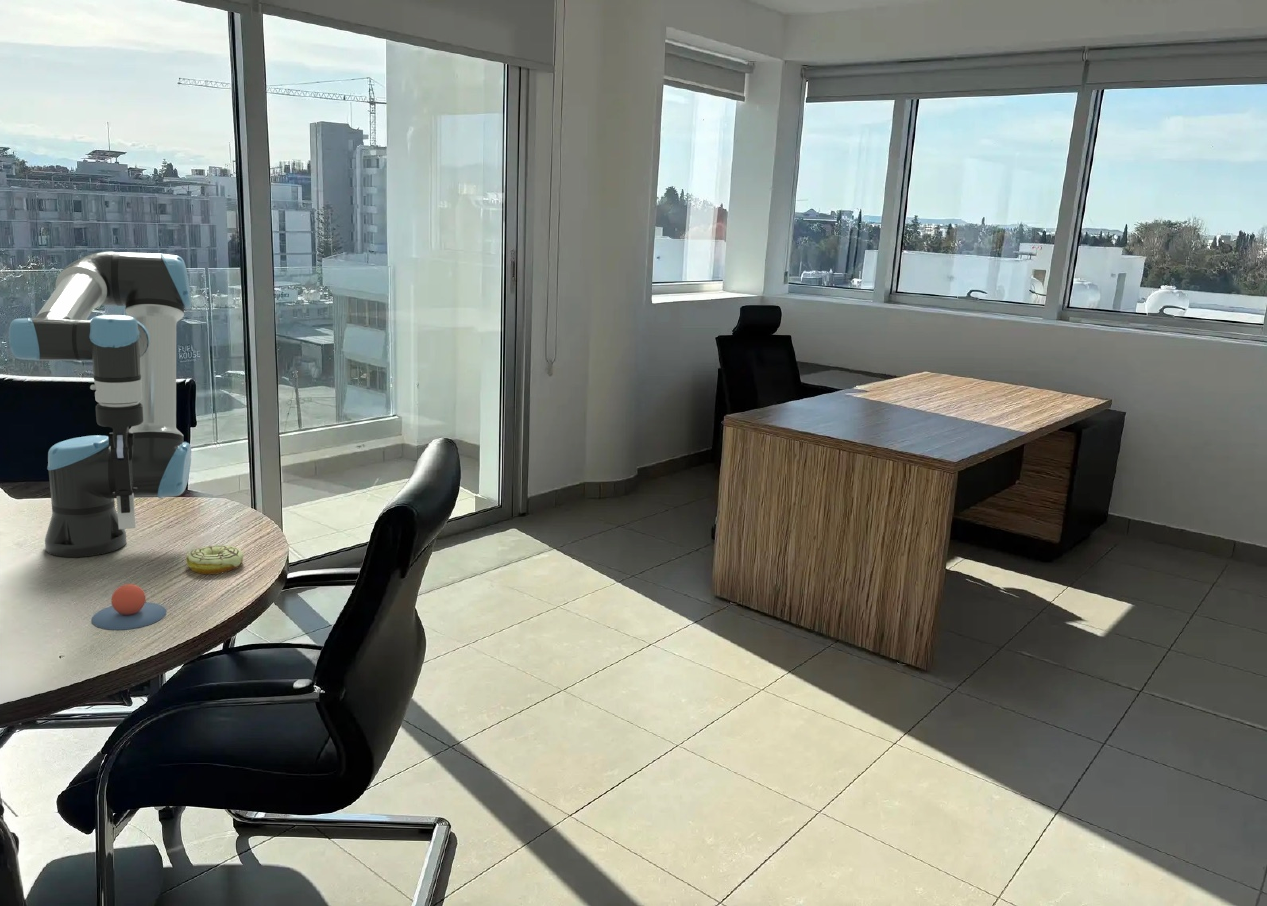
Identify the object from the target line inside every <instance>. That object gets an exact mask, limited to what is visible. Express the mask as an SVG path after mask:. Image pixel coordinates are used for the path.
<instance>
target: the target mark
mask: <svg viewBox="0 0 1267 906" xmlns="http://www.w3.org/2000/svg"><path fill="white" fill-rule="evenodd" d="M166 615H167V608H165V606H163V605H162V604H160V603H159V604H158V603H155V602H149V601H147V602H146V601H145V604H144V606H143V607H142V609H141V610H140V611H138V612H137V613H135V614H131V615H123V614H120V613H118V612H117V611H116V610H115V609H114V608H113V606H112V605H111V606H108V607H105V608H103V609H101V610H98V611H96V612H95V613H94V614H93V615H92V617H91V623H92V625H93V626H95V627H97V628H100V629H103V630H108V631H109V630H110V631H123V630H124V631H126V630H134V629H140V628H144V627H147V626H150V625H152V624H156V623H157V622H159V621H161V620H163V618H164V617H165V616H166Z"/></svg>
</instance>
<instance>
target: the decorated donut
mask: <svg viewBox="0 0 1267 906" xmlns="http://www.w3.org/2000/svg"><path fill="white" fill-rule="evenodd" d="M243 556H244V553H243V551H242V550H241V549H240V548H238V547H236V546H233V545H222V544H218V545H207V546H201V547H197V548H195V549H193V550H192V549H191V551H189V552H188V553H187V554H186V559H185V560H186V561H185V562H186V564H187V566H188V567H189V568H190V570H191V571H193V572H194V573H197V574H202V575H208V574H209V575H210V574H211V575H217V574H216V573H219V574H223V573H222V572H224V573H228V572H230V571H232V569H233V570H235V569H238V568H239V567H240V566H241V565H242V562H243V558H244V557H243ZM237 567H238V568H237ZM227 571H228V572H227Z"/></svg>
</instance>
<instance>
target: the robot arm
mask: <svg viewBox="0 0 1267 906" xmlns="http://www.w3.org/2000/svg"><path fill="white" fill-rule="evenodd" d="M187 271H188V270H187V266H186V263H185V261H184V259H183V257H181V256H179V255H177V254H176V255H175V254H169V253H168V254H167V253H161V252H160V253H151V252H148V253H147V252H125V251H124V252H123V251H122V252H121V251H120V252H118V251H101V252H95V253H91V254H89V255H86V256H83V257H81V258H79V259H77V260H75V261H72V262H71V263H70V264H68V265H67V266H65V267H64V268H63V269H62V270H61V271H60V272H59V274H58V276H57V278H56V280H55V289H54V290H53V292H52V293H51V295H50V297H48V299H46V301H45V302H44V305H43V306H42V308H41V309H40V310H39V312H38V313H37V315H36V316H35V317H34V318H32V317H25V318H24V317H23V318H15V319H13V320H12V321H11V322H10V324H9V328H8V343H9V348H10V352H11V354H12V355H13V356H14V357H15V358H16V359H17V360H27V361H28V360H29V361H34V362H39V361H53V362H54V361H59V362H60V361H62V362H63V361H65V362H66V361H68V362H69V361H71V362H73V361H76V362H77V361H81V362H82V361H83V362H92V370H93V371H92V372H93V383H94V384H91V385H90V386H89V389H90V390H92V391H95V392H94V397H95V401H96V402H97V404H96V405H95V417H96V418H95V419H96V423H97V425H98V426H100V427H103V428H111V429H112V432H109V435H101V434H99V435H98V434H97V435H95V434H94V435H86V436H81V437H80V436H79V437H73V438H69V439H66V440H63V441H59V442H57V443H55V444H54V445H52V446H51V447H50V448H49V449H48V452H47V462H48V463H47V467H46V469H47V470H48V478H49V479H48V480H49V490H50V501H51V518H50V521H49V525H48V527H47V529H46V530H47V531H46V534H45V539H44V544H45V548H44V549H45V551H46V552H47V553H48V554H50V555H53V556H57V557H63V558H81V557H82V558H84V557H92V556H98V555H99V556H100V555H103V554H104V555H105V554H108V553H111V552H114V551H117V550H119V549H121V548H123V547H124V546H126V544H127V534H126V533H127V532H126V529H127V530H128V529H130V530H131V529H136V527H137V526H136V509H135V499H137V498H138V499H141V498H144V499H145V498H158V499H163V498H169V497H178V496H181V495H182V494H183V493H184V492H185V491H186V488H187V485H188V483H189V478H190V472H191V465H192V464H191V463H192V446H191V444H190V443H189V442H187V441H184V438H185V437H184V434H183V433H182V432H181V431H180V430H179V429H178V428H177V323H178V322H179V321H180V320H181V319H183V318H184V316H185V309H186V310H187V309H189V308H192V304H193V303H192V293H191V286H190V285H191V284H190V279H189V276H188V275H189V274H188V272H187ZM101 306H118V307H119V306H120V307H124V308H125V310H124V311H125V314H126V315H124V314H123V315H122V314H102V315H96V316H93V317H92V318H91V319H88V318H89V317H90V315H91V314H92V312H93V310H94V309H95V310H96V308H97V309H98V308H100V307H101ZM115 500H116V503H115ZM116 505H117V507H116ZM116 508H117V509H116Z"/></svg>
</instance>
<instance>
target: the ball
mask: <svg viewBox="0 0 1267 906" xmlns="http://www.w3.org/2000/svg"><path fill="white" fill-rule="evenodd" d="M146 600H147V599H146V594H145V591H144V590H143V589H142V588H141V587H140V586H138V585H136V584H133V583H128V584H126V583H125V584H122V585H120V586H119V587H117V588H116V589H115V590H114V592H113V593H112V596H111V606H113V608H114V609H115V610H116V611H117V612H118V613H120V614H123V615H131V614H135V613H137V612H138V611H140V610H141V609H142V607H143V606H144V604H145V602H146Z"/></svg>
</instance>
